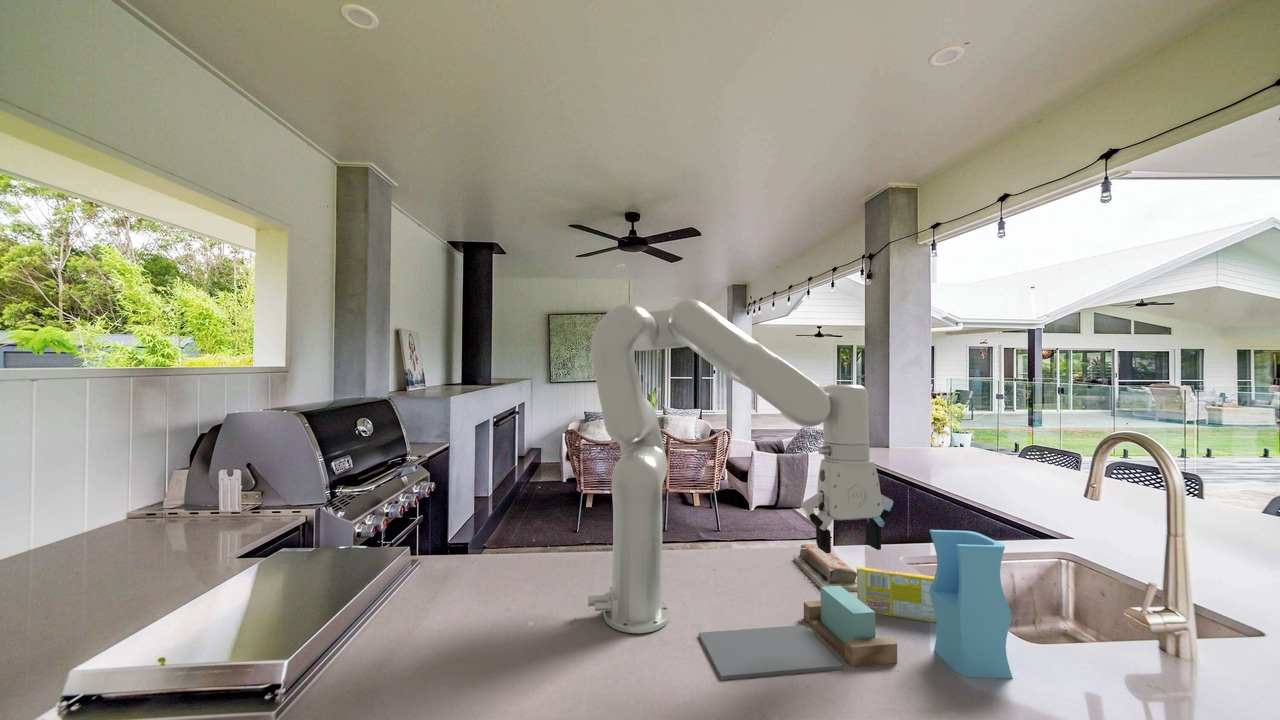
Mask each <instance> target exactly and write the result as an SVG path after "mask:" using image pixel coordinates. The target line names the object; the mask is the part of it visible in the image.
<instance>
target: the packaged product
mask: <svg viewBox="0 0 1280 720" xmlns="http://www.w3.org/2000/svg"><path fill="white" fill-rule="evenodd" d="M813 547H818V545H817V543H815V544H813V543H812V544H811V543H808V544H805V543H804V544H801V545H800V548H806V549H800V550H799V555H797V554H794V555H793V561H794V562H795V564H797V565H798V567H800V568H801V570H802V571H803V572H804V574H806V575H807V576H808V577H809V578H810V579H811V581H812V582H813V583H815V584H816V585H817V587H819V588H820V589H821V587H826V586H841V587H843V588H844V589H845V590H847V591H848V592H857V571H855V570H854V569H853V568H852V567H850V565H849V564H847V563H846V562H845V561H844V560H842V559H841V558H840V557H839V556H838V555H836V554H835V553H834V552H833V551H832V550H831V552H830V553H825V552H824V551H822V550H821V549H819V548H813Z"/></svg>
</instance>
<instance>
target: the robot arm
mask: <svg viewBox="0 0 1280 720" xmlns="http://www.w3.org/2000/svg"><path fill="white" fill-rule="evenodd" d="M685 347H688V348H690V349H691V350H692V351H693V352H695V353H696V354H697V355H699V356H700V357H701V358H703V359H704V360H705V361H707V362H708V363H709V364H711V365H712V366H713V367H715V368H716V369H717V371H718V370H719V371H720V372H721V373H722V374H723V375H725V376H727V378H730V379H731V380H733V381H734V382H736V383H738V384H740V385H742V386H744V387H746V388H747V389H749V390H750V391H751V392H754V393H755V394H756V395H758V396H759V397H761V398H762V399H763V400H765V401H766V402H768V403H769V404H770V405H771V406H773V407H774V408H775V409H776V410H778V411H779V412H780V413H781V415H782V416H783V417H784V418H785V419H786V420H788V421H790V422H791V423H794V424H796V425H797V426H800V427H806V428H812V427H817V426H818V425H821V424H822V423H823V442H822V446H819V447H818V448H817V451H818V454H819V455H823V457H824V459H823V458H822V459H820V460H821V461H820V465H819V471H818V476H817V477H818V478H817V489H816V490H817V491H816V492H817V493H816V494H814V495H813V496H811V497H810V498H807V499H806V500H805V501H803V502H802V503H801V507H802V510H803V511H804V513H805V515H806V518H807V519H808V520H809V521H810V522H811V523H812V525H813V526H815V537H816V539H815V541H816V543H815V544H817V545H818V548H819V549H821V550H822V551H824V552H825V553H830V552H831V551H832V545H831V544H832V542H831V540H832V539H831V530H829V529H828V528H829V526H830V525H831V524H832V522H833V521H834V520H835V521H853V520H855V521H857V520H867V521H866V522H865V543H866V545H868V546H869V547H871V548H874V549H875V550H876V551H880V550H881V549H882V528H883V527H884V526H885V521H886V520H887V519H888V517H890V511H891V509H892V508H893V505H894V500H893V499H891V498H889V497H888V496H885V495H883V494H882V493H881V485H880V479H879V475H878V471H877V467H876V463H875V460H872V459H871V456H870V454H871V453H870V451H871V450H870V428H869V426H870V425H869V421H870V420H869V396H868V390H867V388H866V387H865V386H863V385H861V384H829V385H819V384H818V383H817V382H815V381H814V380H812V379H811V378H809V377H808V376H807V375H805V374H804V373H803V372H801V371H800V370H798V369H797V368H796V367H794V366H793V365H791V364H790V363H789V362H788V361H785V360H784V359H782V358H781V357H780V356H778V355H777V354H775V353H774V352H772V351H771V350H770V349H768V348H766V347H765V346H764V345H763V344H761V343H759V341H756V339H754V338H752V337H751V336H749V335H748V334H747V333H745V332H744V331H742V330H741V329H740V328H738V327H737V326H735V325H734V324H733V323H731V322H730V321H729V320H727V319H726V318H725V317H723V316H722V315H721V314H719V313H718V312H716V311H715V310H714V309H712V308H711V307H710V306H708V305H707V304H706V303H704V302H702V301H700V300H698V299H695V298H687V299H683V300H681V301H679V302H677V303H676V304H675V305H674V306H673V308H672V309H671V308H669V309H664V310H654V311H653V310H652V311H648V310H646V309H645V308H644V307H642V306H641V305H638V304H635V303H628V302H626V303H621V304H619V305H617V306H615V307H613V308H612V309H610V310H609V311H608V312H607V313H605V315H603V316H602V317H601V318H600V320H599V322H598V324H597V325H596V327H595V329H594V332H593V334H592V339H591V346H590V351H591V353H590V354H591V362H592V368H593V372H594V377H595V383H596V388H597V394H598V396H599V397H598V399H599V403H600V407H601V411H602V417H603V423H604V428H605V430H606V433H607V435H608V436H609V437H610V438H611V439H612V440H613V441H615V443H618V445H619V448H620V454H621V456H620V457H619V459H618V460H617V462H616V464H615V465H614V468H613V470H612V475H611V494H612V495H611V496H612V510H613V511H612V513H613V514H612V515H613V516H612V518H613V519H612V522H613V523H612V524H613V525H612V536H613V537H612V582H611V583H612V585H611V586H609V589H608V590H609V591H607V592H604V594H588V595H587V606H588V607H594V611H595V612H600V611H603V620H604V622H605V623H606V624H607V625H608V626H609V627H611V629H612V628H613V629H614V630H616V631H619V632H623V633H628V634H646V633H647V634H648V633H652V632H655V631H658V630H660V629H662V628H664V626H666V625H667V624H668V623H669V620H670V609H669V607H668V606H667V605H666V603H665V602H664V601H663V600H662V592H663V591H662V589H663V588H662V587H663V583H662V581H663V577H662V576H663V484H664V482H665V480H666V478H667V477H666V476H667V474H668V470H669V469H668V460H667V454H666V449H665V445H664V442H663V435H662V432H661V427H660V424H659V419H658V414H657V412H656V410H655V407H654V406H653V404H652V402H651V401H649V399H647V398H646V397H644V394H643V390H642V386H641V383H640V382H641V381H640V376H639V371H638V368H637V363H636V360H635V351H637V352H646V351H654V350H655V351H656V350H666V349H667V350H668V349H676V348H678V349H679V348H685ZM815 507H817V509H818V511H819V512H818V513H817V514H816V513H815V510H814V508H815Z"/></svg>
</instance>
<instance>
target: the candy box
mask: <svg viewBox="0 0 1280 720" xmlns="http://www.w3.org/2000/svg"><path fill="white" fill-rule="evenodd" d="M856 573H857V576H856V579H857V591H856V593H857V597H856V598H857V599H858V600H860V601H861V602H862V603H864V604H865V605H866V606H868V607H869V608H870V609H872V610H873V611H874V612H875V614H878V615H885V616H890V617H895V618H903V619H910V620H914V621H915V620H916V621H921V622H927V623H928V622H929V623H934V624H937V623H936V617H935V612H934V608H933V604H932V601H931V598H930V592H929V589H930V587H931V584H932V582H933V580H934V577H935V575H925V574H918V573H911V572H910V573H909V572H902V571H895V570H887V569H879V568H871V567H862V566H856Z"/></svg>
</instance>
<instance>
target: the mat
mask: <svg viewBox="0 0 1280 720" xmlns="http://www.w3.org/2000/svg"><path fill="white" fill-rule="evenodd" d="M698 637H699V640H700V641H701V643H702V645H703V647H704V649H705V651H706V653H707V655H708V657H709V658H710V659H709V660H711V663H712V664H713V667H714V669H715V670H716V672H717V674H718V677H719V679H720V680H721V681H724V680H726V681H727V680H736V679H737V680H738V679H748V678H758V677H770V676H779V675H783V676H784V675H792V674H802V673H803V674H804V673H815V672H825V671H835V670H837V671H838V670H843V664H841V662H840V661H839V660H838V659H837V658H836V657H835V656H834V655H833V654H832V653H831V652H830V650H828V649H827V648H826V647H825V646H824V645H823V643H822V642H820V640H819V639H817V637H816V636H815V635H814V634H813V633H812V632H811V631H810V630H809V629H808V628H807V627H806V626H805V625H804V624H799V625H787V626H786V625H785V626H775V627H774V626H773V627H761V628H748V629H747V628H745V629H732V630H718V631H704V632H698Z"/></svg>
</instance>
